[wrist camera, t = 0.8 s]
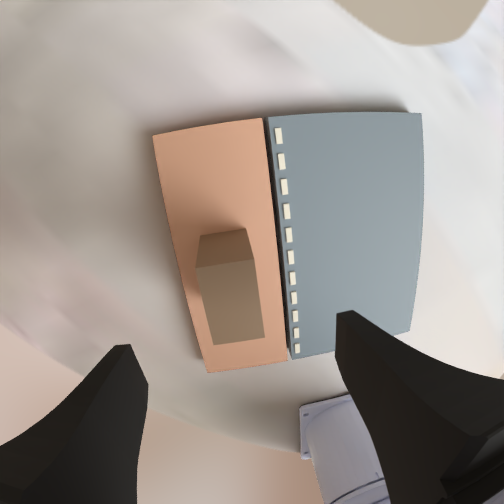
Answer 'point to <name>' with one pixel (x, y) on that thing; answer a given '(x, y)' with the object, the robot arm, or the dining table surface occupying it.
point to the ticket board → (347, 220)
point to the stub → (225, 240)
